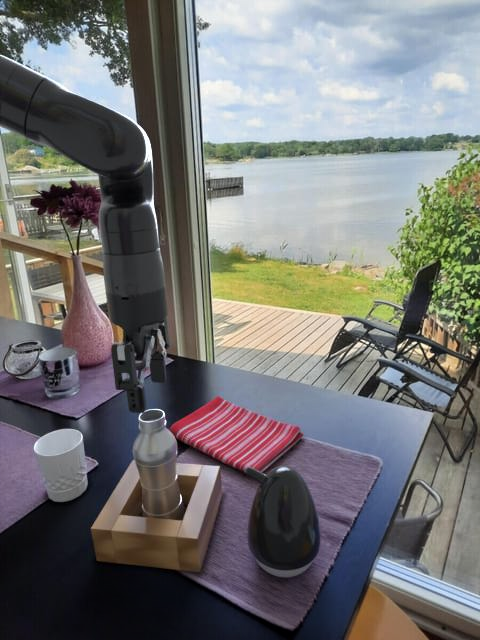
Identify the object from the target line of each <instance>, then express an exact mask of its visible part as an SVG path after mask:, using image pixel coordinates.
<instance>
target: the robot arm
mask: <svg viewBox="0 0 480 640" xmlns="http://www.w3.org/2000/svg"><path fill="white" fill-rule="evenodd" d="M0 127H1V128H3V129H5V130H7V131H9V132H11V133H13V134H15V135H17V136H20V137H22V138H24V139H26V140H29V141H30V142H32V143H35V144H38V145H40V146H43V147H46V148H49V149H51V150H53V151H55V152H56V153H58V154H59V155H61V156H63V157H65V158H66V159H68V160H70V161H72V162H74V163H75V164H77V165H79V166H81V167H83V168H85V169H86V170H88V171H89V172H93V173H94V174H97V176H98V177H97V178H98V185H99V191H100V192H99V193H100V200H101V201H100V202H101V203H100V207H99V210H98V227H99V228H98V229H99V236H100V242H101V250H102V257H103V258H102V260H103V261H102V267H103V269H102V270H103V277H104V278H103V279H104V286H105V292H106V299H107V305H108V312H109V319H110V322H111V324H113V325H115V326H118V327H119V328H121V330H122V342H121V343H113V344H112V345H111V348H110V351H111V353H110V354H111V360H112V369H113V377H114V378H113V379H114V385H115V390H116V391H126V392H125V393H126V399H127V404H128V411H129V412H130V413H134V414H141V413H144V412H145V411H147V410H148V409H147V400H146V392H145V385H144V382H145V374H146V372H147V371H148V370H149V372H150V381H151V382H152V383H158V384H160V383H161V384H163V383H165V382H166V380H167V379H168V377H167V369H166V367H167V366H166V358H167V354H168V353H167V350H169V349H170V346H171V343H170V335H169V327H168V321H167V320H168V319H167V317H168V316H169V308H168V307H169V306H168V299H167V288H166V277H165V267H164V262H163V258H162V254H161V253H162V252H161V248H160V239H159V227H158V220H157V215H156V210H155V204H154V168H153V166H154V165H153V152H152V147H151V146H152V145H151V142H150V138H149V137H148V135H147V132H146V131H145V130H144V129H143V128H142V127H141V126H140V125H139V124H138V123H137V122H136V121H135V120H133V119H132V118H131V117H129V116H127V115H125V114H123V113H121V112H119V111H117V110H115V109H112V108H110V107H108V106H106V105H104V104H101V103H99V102H96V101H94V100H92V99H90V98H87V97H86V96H82V95H80V94H78V93H74V92H73V91H71V90H69V89H68V88H66V86H63V85H61V84H60V83H59V82H57V81H55V80H53V79H51V78H49V77H47V76H46V75H43V74H42V73H40V72H38V71H36V70H33V69H32V68H30V67H28V66H26V65H24V64H22V63H20V62H18V61H16V60H14V59H11V58H9V57H7V56H5V55H3V54H0Z"/></svg>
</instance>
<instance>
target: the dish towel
mask: <svg viewBox="0 0 480 640" xmlns="http://www.w3.org/2000/svg"><path fill="white" fill-rule="evenodd" d="M168 430H169V431H170V432H171V433H172V434H173V435H174V437H175V439H176V440H177V441H178V440H179V441H180V442H183V443H184V444H186V445H188V446H190V447H192V448H194V449H196V450H198V451H200V452H201V453H203V454H206V455H207V456H210V457H211V458H213V459H215V460H217V461H219V462H221V463H223V464H225V465H227V466H230V467H231V468H234V469H236V470H239V471H241V472H242V473H245V474H246V470H247V468H248V467H252V468H254V469H256V470H258V471H260V472H262V473H264V472H265V471H266V470H267V469H269V467H271V466H272V465H273V464H274V463H275V462H276V461H278V459H279V458H281V457H282V456H283V455H285V454H286V453H287V452H288V451H289V450H290V449H291V448H292V447H293V446H295V445H296V444H297V443H298V442H299V441H300V440H301V439H302V438H303V437H304V433H303V432H301V431H302V429H301V427H300V426H297V425H296V424H295V425H293V424H290V423H284V422H281V421H277V420H276V419H272V418H270V417H268V416H264V415H261V414H260V413H256V412H254V411H252V410H249V409H247V408H244V407H242V406H239V405H236V404H235V403H232V402H230V401H228V400H226V399H224V398H222V397H220V396H218V395H217V396H216V397H215V398H213V399H212V400H211V401H208V402H207V403H206V404H205V405H203V406H201V407H199V408H198V409H196V410H195V411H193V412H192V413H190V414H188V415H187V416H184V417H182V418H181V419H179V420H178V421H176V422H174V423H173V424H172V425H171V426H170V427H169V429H168Z"/></svg>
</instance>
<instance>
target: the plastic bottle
mask: <svg viewBox="0 0 480 640" xmlns="http://www.w3.org/2000/svg"><path fill="white" fill-rule="evenodd" d="M138 430H139V433H138V435H137V436H136V438H135V440H134V442H133V445H132V450H131V451H132V457H133V460H135V463H136V466H137V469H138V472H139V476H140V481H141V486H142V500H143V504H142V512H141V517H148V518H158V519H169V520H180V521H183V518H184V515H185V512H186V510H185V504H184V503H183V500H182V497H181V495H180V491H179V486H178V482H177V467H176V463H178V462H177V461H178V459H177V458H178V457H177V456H178V442H177V441H178V440H177V438H175V437H174V435H173V434H172V433H171V432H170V431H169V429H168V428H167V420H166V414H165V411H163V410H162V409H159V408H151V409H146V410H145V412H144V413H139V415H138Z"/></svg>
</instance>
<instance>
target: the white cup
mask: <svg viewBox="0 0 480 640" xmlns="http://www.w3.org/2000/svg"><path fill="white" fill-rule="evenodd" d="M33 452H34V456H35V460H36V463H37V466H38V469H39V473H40V476H41V479H42V483H43V485H44V487H45V489H46V493H47V496H48V499H49V500H51V501H52V502H55V503H64V502H69V501H70V502H71V501H73V500H74V499H77V498H78V497H81V496H82V494H83V493H84V492H85V491H86V490H87V488H88V484H89V482H88V474H87V461H86V452H85V444H84V436H83V434H82V432H81V431H79V430H78V429H74V428H61V429H57V430H54V431H51V432H48V433H46V434H44V435H43V436H41V437H40V438H38V439H37V440H36V441H35V443H34V444H33Z"/></svg>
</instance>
